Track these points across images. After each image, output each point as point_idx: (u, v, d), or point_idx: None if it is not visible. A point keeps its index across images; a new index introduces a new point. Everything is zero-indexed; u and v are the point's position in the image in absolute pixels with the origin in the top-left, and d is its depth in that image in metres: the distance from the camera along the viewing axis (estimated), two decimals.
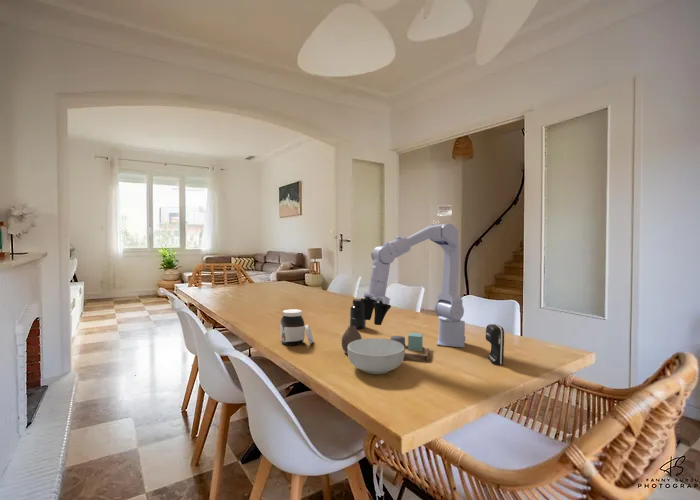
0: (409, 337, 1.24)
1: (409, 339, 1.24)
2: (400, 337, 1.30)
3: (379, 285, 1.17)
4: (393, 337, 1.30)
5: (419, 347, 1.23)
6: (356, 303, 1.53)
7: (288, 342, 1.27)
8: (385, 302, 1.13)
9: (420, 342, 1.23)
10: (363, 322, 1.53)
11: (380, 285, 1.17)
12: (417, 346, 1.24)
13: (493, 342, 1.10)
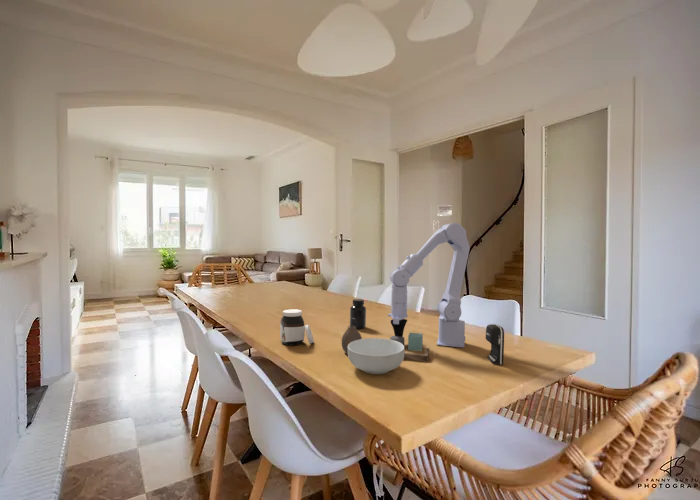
0: (409, 337, 1.24)
1: (409, 339, 1.24)
2: (399, 337, 1.28)
3: (395, 306, 1.29)
4: (392, 337, 1.28)
5: (419, 347, 1.23)
6: (356, 303, 1.53)
7: (288, 342, 1.27)
8: (394, 322, 1.25)
9: (420, 342, 1.23)
10: (363, 322, 1.53)
11: (396, 306, 1.29)
12: (417, 346, 1.24)
13: (493, 342, 1.10)
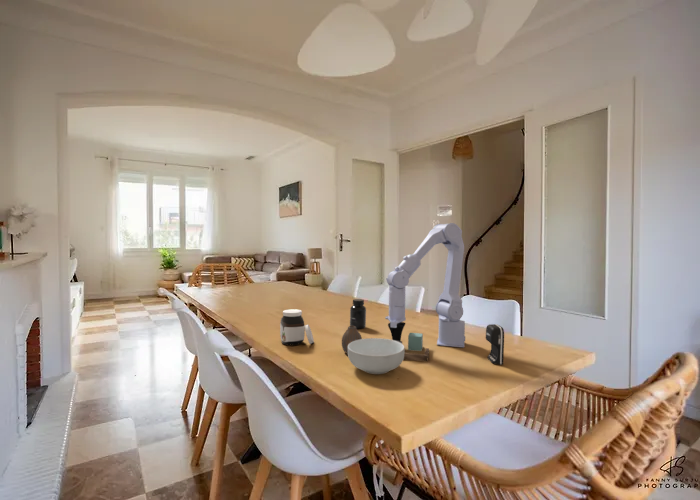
0: (409, 337, 1.24)
1: (409, 339, 1.24)
2: None
3: (393, 309, 1.24)
4: None
5: (419, 347, 1.23)
6: (356, 303, 1.53)
7: (288, 342, 1.27)
8: (392, 326, 1.20)
9: (420, 342, 1.23)
10: (363, 322, 1.53)
11: (393, 309, 1.24)
12: (417, 346, 1.24)
13: (493, 342, 1.10)
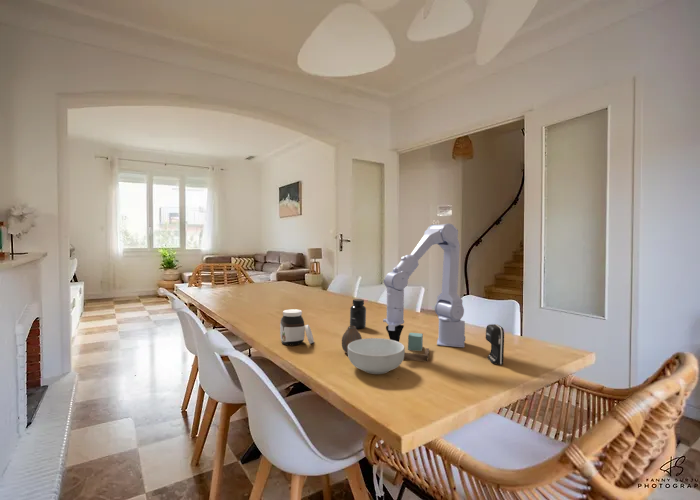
0: (409, 337, 1.24)
1: (409, 339, 1.24)
2: None
3: (391, 311, 1.20)
4: None
5: (419, 347, 1.23)
6: (356, 303, 1.53)
7: (288, 342, 1.27)
8: (390, 329, 1.16)
9: (420, 342, 1.23)
10: (363, 322, 1.53)
11: (391, 311, 1.20)
12: (417, 346, 1.24)
13: (493, 342, 1.10)
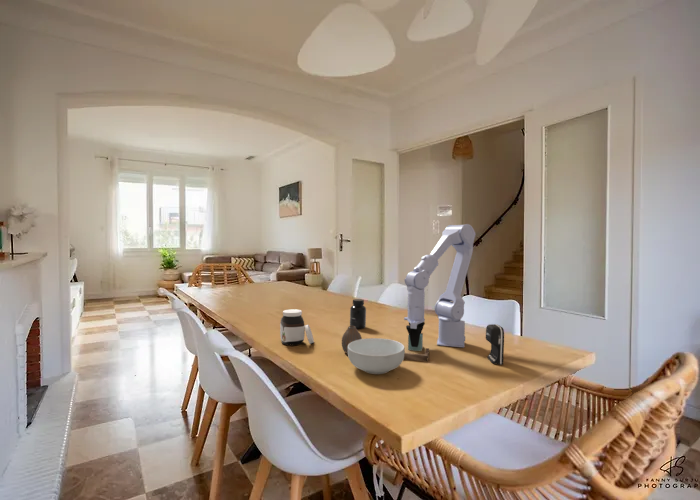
0: (409, 337, 1.24)
1: (409, 339, 1.24)
2: None
3: (412, 310, 1.23)
4: None
5: (419, 347, 1.23)
6: (356, 303, 1.53)
7: (288, 342, 1.27)
8: (412, 327, 1.19)
9: (421, 342, 1.23)
10: (363, 322, 1.53)
11: (413, 310, 1.23)
12: None
13: (493, 342, 1.10)
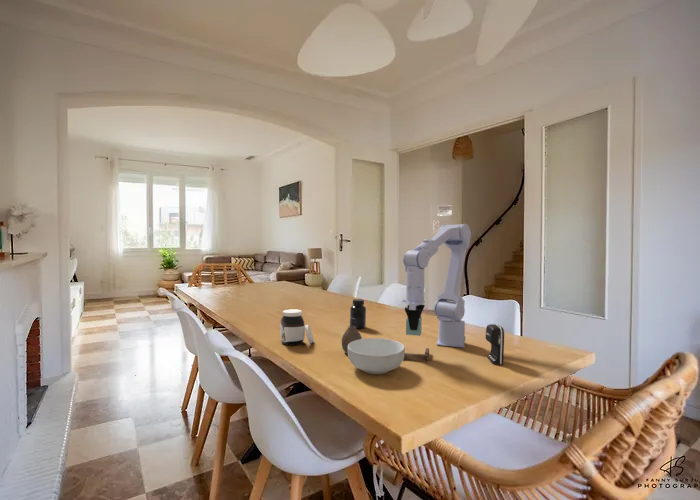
0: (407, 321, 1.17)
1: (407, 323, 1.17)
2: None
3: (411, 291, 1.16)
4: None
5: (418, 331, 1.16)
6: (356, 303, 1.53)
7: (288, 342, 1.27)
8: (410, 308, 1.11)
9: (419, 326, 1.16)
10: (363, 322, 1.53)
11: (412, 291, 1.16)
12: (415, 330, 1.16)
13: (493, 342, 1.10)
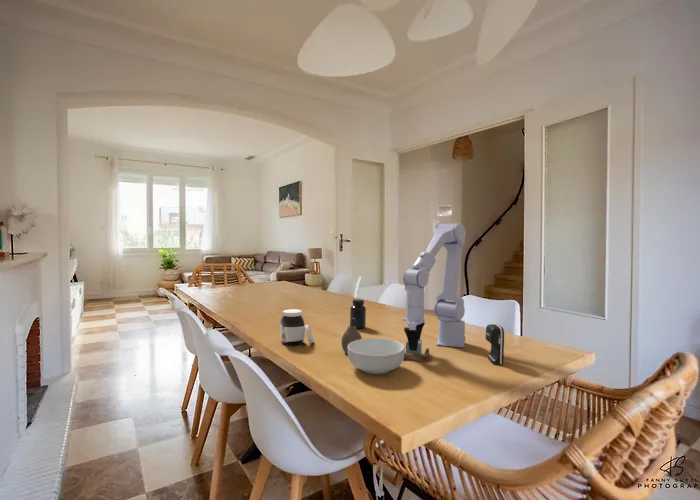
0: (407, 343, 1.16)
1: (407, 346, 1.16)
2: None
3: (411, 310, 1.15)
4: None
5: None
6: (356, 303, 1.53)
7: (288, 342, 1.27)
8: (410, 328, 1.11)
9: (419, 349, 1.15)
10: (363, 322, 1.53)
11: (412, 310, 1.15)
12: (415, 353, 1.16)
13: (493, 342, 1.10)
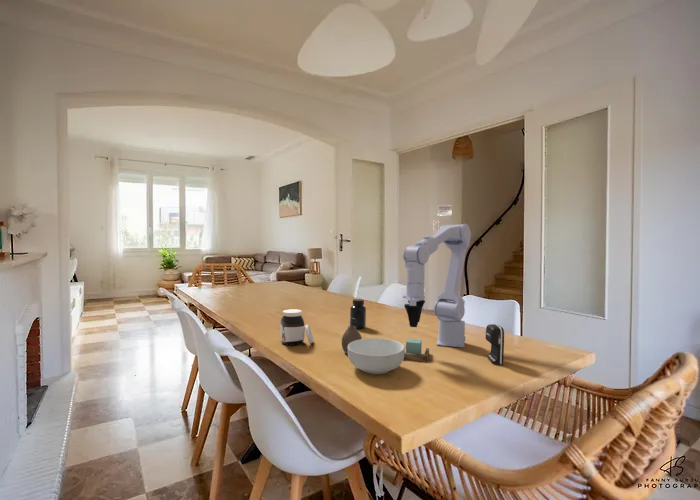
0: (407, 343, 1.16)
1: (407, 346, 1.16)
2: None
3: (411, 286, 1.15)
4: None
5: None
6: (356, 303, 1.53)
7: (288, 342, 1.27)
8: (411, 304, 1.11)
9: (419, 349, 1.15)
10: (363, 322, 1.53)
11: (412, 286, 1.15)
12: (415, 353, 1.16)
13: (493, 342, 1.10)
